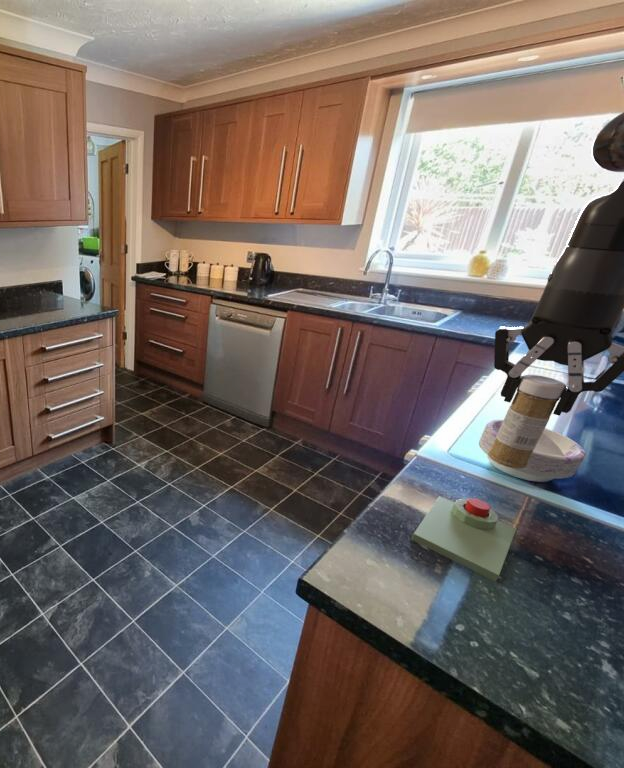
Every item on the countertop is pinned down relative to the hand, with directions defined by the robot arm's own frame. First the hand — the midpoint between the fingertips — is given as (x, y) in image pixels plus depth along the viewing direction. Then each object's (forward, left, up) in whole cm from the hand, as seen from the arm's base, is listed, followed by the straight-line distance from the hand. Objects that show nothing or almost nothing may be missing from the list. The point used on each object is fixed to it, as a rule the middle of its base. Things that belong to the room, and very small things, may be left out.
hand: (531, 406), depth 60 cm
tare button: (-3, -5, -22) cm, 23 cm away
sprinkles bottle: (0, 0, -10) cm, 10 cm away
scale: (0, -1, -25) cm, 25 cm away
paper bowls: (-22, -26, -25) cm, 42 cm away
